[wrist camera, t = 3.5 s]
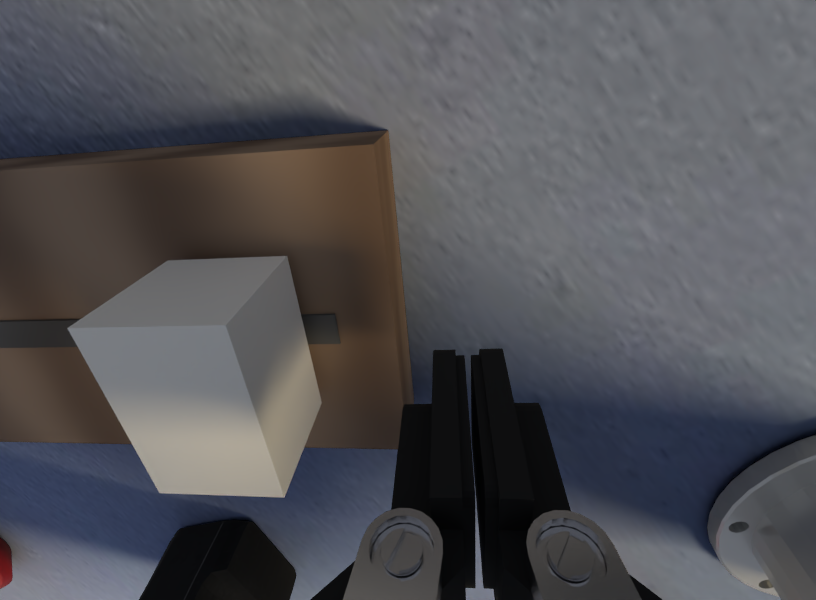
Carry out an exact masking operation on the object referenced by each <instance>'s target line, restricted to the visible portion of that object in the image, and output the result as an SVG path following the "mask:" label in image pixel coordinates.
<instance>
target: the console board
mask: <svg viewBox="0 0 816 600" xmlns="http://www.w3.org/2000/svg"><path fill="white" fill-rule="evenodd" d="M270 256H287V257H288V262H289V266H290V270H291V274H292V279H293V283H294V287H295V291H296V296H297V300H298V304H299V308H300V313H301V317H302V321H303V325H304V329H305V334H306V338H307V342H308V346H309V351H310V355H311V359H312V363H313V368H314V372H315V376H316V380H317V385H318V389H319V393H320V397H321V402H322V403H321V406H320V408H319V411H318V414H317V416H316V419H315V421H314V424H313V426H312V429H311V431H310V434H309V437H308V439H307V442H306V444H305V447H306V448H357V449H398V445H399V436H400V427H401V418H402V410H403V406H404V404H414V394H413V384H412V373H411V363H410V352H409V342H408V331H407V321H406V310H405V300H404V290H403V279H402V269H401V258H400V248H399V237H398V227H397V216H396V206H395V195H394V185H393V174H392V164H391V154H390V143H389V133H388V130H385V131H371V132H358V133H345V134H331V135H318V136H304V137H291V138H277V139H264V140H251V141H237V142H224V143H210V144H197V145H183V146H170V147H157V148H143V149H130V150H116V151H103V152H89V153H76V154H63V155H49V156H36V157H22V158H9V159H0V442H47V443H99V444H132V443H131V441H130V440H129V438H128V436H127V434H126V432H125V431H124V429H123V427H122V425H121V423H120V422H119V420H118V418H117V416H116V414H115V413H114V411H113V409H112V407H111V406H110V404H109V402H108V400H107V398H106V397H105V395H104V393H103V391H102V389H101V388H100V386H99V384H98V382H97V380H96V379H95V377H94V375H93V373H92V372H91V370H90V368H89V366H88V364H87V363H86V361H85V359H84V357H83V355H82V354H81V352H80V350H79V348H78V346H77V345H76V343H75V341H74V339H73V338H72V336H71V334H70V332H69V330H68V329H67V328H68V327H70V326H71V325H73V324H74V323H76V322H77V321H79V320H80V319H82V318H83V317H85V316H86V315H87V314H89V313H90V312H92V311H93V310H95V309H96V308H98V307H99V306H101V305H102V304H104V303H105V302H107V301H108V300H110V299H111V298H113V297H114V296H116V295H117V294H119V293H120V292H122V291H123V290H125V289H126V288H128V287H129V286H131V285H132V284H134V283H135V282H136V281H138V280H139V279H141V278H142V277H144V276H145V275H147V274H148V273H150V272H151V271H153V270H154V269H156V268H157V267H159V266H160V265H162V264H163V263H165V262H166V261H168V260H192V259H218V258H244V257H270Z"/></svg>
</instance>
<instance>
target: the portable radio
mask: <svg viewBox="0 0 816 600" xmlns="http://www.w3.org/2000/svg"><path fill="white" fill-rule="evenodd" d="M295 579H296V572H295V570H294V568H293V567H292V566H291V565H290V564H289V563H288V562H287V560H286V559H285V558H284V557H283V556H282V555H281V554H280V552H279V551H278V550H277V549H276V548H275V547H274V546H273V544H272V543H271V542H270V541H269V540H268V539H267V537H266V536H265V535H264V534H263V533H262V532H261V531H260V529H259V528H258V527H257V526H256V525H255V524H254V523H253V522H249V521H240V520H227V521H219V522H214V523H208V524H203V525H197V526H192V527H186V528H181V529H179V530H178V531H177V532H176V534H175V535H174V537H173V538H172V540H171V541H170V543H169V545H168V547H167V549H166V551H165V552H164V554H163V556H162V558H161V560H160V562H159V564H158V566H157V567H156V569H155V571H154V573H153V575H152V577H151V579H150V581H149V583H148V584H147V586H146V588H145V590H144V592H143V593H142V595H141V597H140V599H139V600H290V596H291V593H292V590H293V587H294V583H295Z"/></svg>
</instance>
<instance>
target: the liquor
mask: <svg viewBox="0 0 816 600" xmlns="http://www.w3.org/2000/svg"><path fill="white" fill-rule="evenodd" d="M11 581H12V555H11V549H10V547H9V545H8V544H7V543H6V542H5V541H4V540H3V539H1V538H0V589H1V588H3V587H4V586H6V585H8V584H9V583H10V582H11Z"/></svg>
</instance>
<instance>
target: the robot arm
mask: <svg viewBox="0 0 816 600" xmlns="http://www.w3.org/2000/svg"><path fill="white" fill-rule="evenodd" d="M471 417H472V449H473V462H474V474H475V487H476V499H477V512H478V524H479V537H480V550H481V562H482V575H483V585H484V588H489V589H494V597H495V600H662V599H661V598H659V597H658V596H657V595H656V594H654V593H653V592H652V591H650V590H649V589H648V588H646V587H645V586H644V585H642V584H641V583H640V582H639V581H637V580H636V579H635V578H633V577H632V576H631V575H629V574H628V572H627V570H626V568H625V566H624V564H623V562H622V560H621V558H620V556H619V554H618V552H617V550H616V548H615V546H614V544H613V543H612V542H611V540H610V539H609V537H608V536H607V534H606V533H605V532H604V531H603V530H602V529H601V528H600V527H599V526H598V525H597V524H596V523H595V522H593V521H592V520H590V519H588V518H586V517H585V516H583V515H581V514H578V513H575V512H571V510H570V507H569V503H568V500H567V496H566V493H565V489H564V486H563V482H562V479H561V475H560V472H559V468H558V465H557V461H556V458H555V454H554V451H553V447H552V444H551V440H550V437H549V433H548V430H547V426H546V423H545V419H544V416H543V412H542V409H541V407H540V405H539V403H514V400H513V396H512V391H511V386H510V381H509V377H508V372H507V367H506V363H505V358H504V353H503V349H480V350H479V355H471ZM472 449H471V436H470V423H469V410H468V397H467V384H466V371H465V359H464V355H461V356H456V355H455V350H434V351H433V382H432V404H404V406H403V410H402V418H401V427H400V436H399V445H398V454H397V463H396V472H395V481H394V490H393V499H392V508H391V510H390V511H386V512H385V513H383V514H382V515H380V516H378V517H377V518H376V519H375V520H374V521H373V522H372V523H371V524H370V525H369V527H368V528H367V530H366V532H365V534H364V536H363V538H362V541H361V544H360V547H359V550H358V553H357V557H356V560H355V561H354V562H353V563H352V564H351V565H350V566H349V567H347V568H346V569H345V570H344V571H343V572H342V573H340V574H339V575H338V576H337V577H336V578H335V579H334V580H332V581H331V582H330V583H329V584H328V585H327V586H326V587H324V588H323V589H322V590H321V591H320V592H319V593H318V594H316V595H315V596H314V597H313V598H312V599H311V600H466V592H465V588H475V490H474V475H473V462H472ZM707 530H708V536H709V541H710V543H711V545H712V547H713V549H714V550H715V552H716V554H717V556H718V558H719V560H720V562H721V563H722V565H723V566H724V567H725V568H726V570H727V571H728V572H729V573H730V574H731V575H732V576H734V577H735V578H737V579H738V580H739V581H741V582H742V583H744V584H746V585H748V586H750V587H752V588H754V589H756V590H759V591H761V592H765V593H768V594H772V595H775V596H779V597H780V598H781V600H816V435H814V436H811V437H808V438H805V439H801V440H799V441H796V442H794V443H792V444H790V445H788V446H785V447H783V448H781V449H779V450H777V451H774V452H772V453H770V454H769V455H767V456H765V457H764V458H762V459H761V460H759V461H757V462H756V463H754V464H752V465H751V466H749V467H748V468H747V469H745V470H744V471H743V472H742V473H741V474H739V475H738V476H737V477H736V478H735V479H733V480H732V481H731V482H730V483H729V484H728V486H727V487H726V488H725V489H724V490H723V492H722V493H721V494H720V495H719V496H718V498H717V500H716V502H715V504H714V506H713V508H712V510H711V512H710V514H709V520H708V525H707Z"/></svg>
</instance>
